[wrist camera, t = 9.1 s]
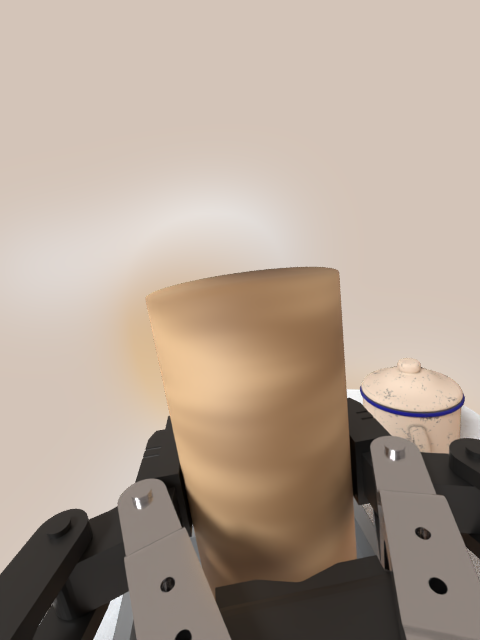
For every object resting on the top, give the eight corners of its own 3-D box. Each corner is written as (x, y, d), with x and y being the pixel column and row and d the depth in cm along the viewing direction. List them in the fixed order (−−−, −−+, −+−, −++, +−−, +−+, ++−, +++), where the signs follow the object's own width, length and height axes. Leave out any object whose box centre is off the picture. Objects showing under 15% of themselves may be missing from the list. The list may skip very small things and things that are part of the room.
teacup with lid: (361, 434, 40) (357, 345, 37) (447, 440, 37) (449, 344, 34) (366, 514, 29) (361, 396, 26) (488, 532, 26) (497, 401, 23)
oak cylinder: (226, 769, 10) (122, 316, 6) (220, 588, 15) (160, 284, 11) (394, 729, 10) (379, 277, 7) (331, 566, 15) (305, 263, 12)
